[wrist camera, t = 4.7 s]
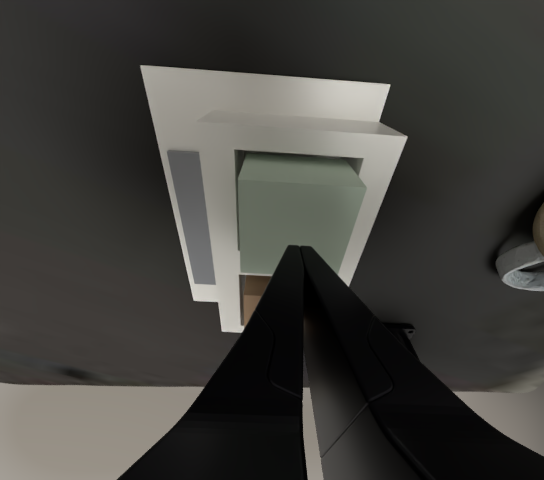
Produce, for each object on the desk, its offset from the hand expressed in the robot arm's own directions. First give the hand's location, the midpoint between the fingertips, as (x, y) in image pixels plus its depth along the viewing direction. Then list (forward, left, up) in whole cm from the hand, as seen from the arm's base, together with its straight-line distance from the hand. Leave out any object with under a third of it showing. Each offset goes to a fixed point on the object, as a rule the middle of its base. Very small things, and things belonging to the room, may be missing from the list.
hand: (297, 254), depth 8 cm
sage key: (0, 0, -4) cm, 4 cm away
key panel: (+2, +3, -7) cm, 8 cm away
